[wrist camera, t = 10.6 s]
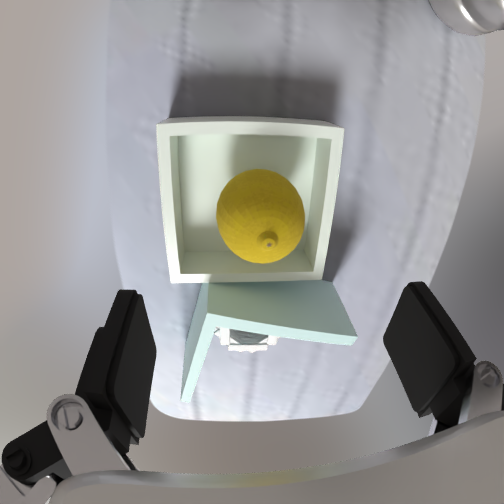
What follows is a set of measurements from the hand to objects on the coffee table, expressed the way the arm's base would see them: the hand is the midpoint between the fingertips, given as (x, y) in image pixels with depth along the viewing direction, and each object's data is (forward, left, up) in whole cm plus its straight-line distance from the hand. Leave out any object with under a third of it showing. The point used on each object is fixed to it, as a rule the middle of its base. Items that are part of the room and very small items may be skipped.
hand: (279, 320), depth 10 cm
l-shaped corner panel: (+14, +1, -15) cm, 21 cm away
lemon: (0, 0, -14) cm, 14 cm away
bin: (+1, 0, -15) cm, 15 cm away
